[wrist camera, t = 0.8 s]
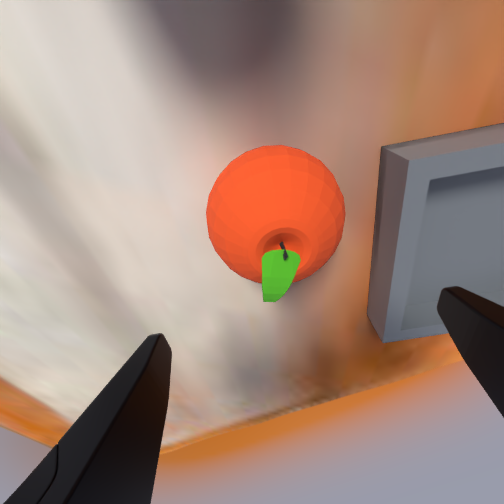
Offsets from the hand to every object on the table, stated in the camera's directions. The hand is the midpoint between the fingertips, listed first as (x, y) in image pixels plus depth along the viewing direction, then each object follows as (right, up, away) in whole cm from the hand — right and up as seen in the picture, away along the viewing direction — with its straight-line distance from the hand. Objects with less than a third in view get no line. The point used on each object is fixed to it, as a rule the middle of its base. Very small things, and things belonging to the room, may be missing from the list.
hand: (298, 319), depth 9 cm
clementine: (-1, +6, +9) cm, 10 cm away
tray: (+14, +4, +10) cm, 18 cm away
